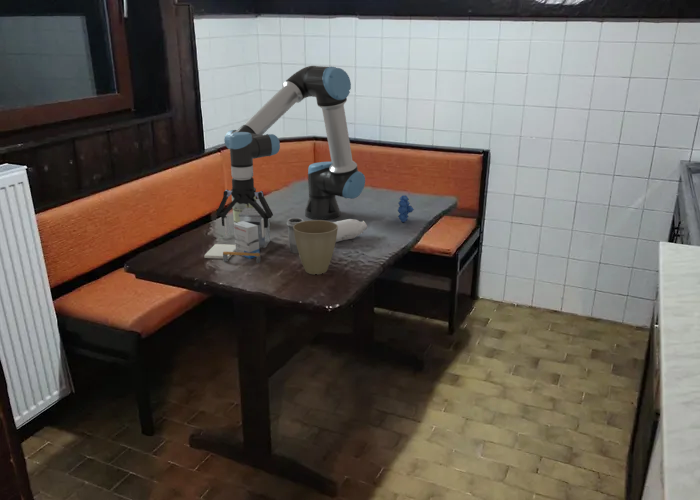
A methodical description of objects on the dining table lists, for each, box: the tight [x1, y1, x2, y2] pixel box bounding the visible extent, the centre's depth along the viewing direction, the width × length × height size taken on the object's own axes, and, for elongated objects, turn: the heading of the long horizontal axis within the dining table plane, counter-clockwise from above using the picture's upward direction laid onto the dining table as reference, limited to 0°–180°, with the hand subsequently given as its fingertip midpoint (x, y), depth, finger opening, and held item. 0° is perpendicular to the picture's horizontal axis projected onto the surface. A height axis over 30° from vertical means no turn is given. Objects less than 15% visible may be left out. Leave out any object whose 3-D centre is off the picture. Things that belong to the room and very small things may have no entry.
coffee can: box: [230, 187, 257, 224], centre depth 260 cm, size 10×10×14 cm
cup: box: [286, 217, 305, 254], centre depth 227 cm, size 7×7×12 cm
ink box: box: [233, 221, 261, 260], centre depth 223 cm, size 9×5×12 cm, turn 47°
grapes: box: [397, 194, 415, 223], centre depth 259 cm, size 12×7×12 cm, turn 163°
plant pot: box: [293, 219, 338, 275], centre depth 208 cm, size 15×15×16 cm
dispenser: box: [222, 208, 271, 264], centre depth 227 cm, size 13×24×13 cm, turn 173°
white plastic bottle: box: [332, 218, 368, 243], centre depth 239 cm, size 8×19×8 cm, turn 123°
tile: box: [204, 243, 236, 260], centre depth 227 cm, size 9×12×1 cm
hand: (245, 235), depth 223 cm, fingers open, 13 cm apart
